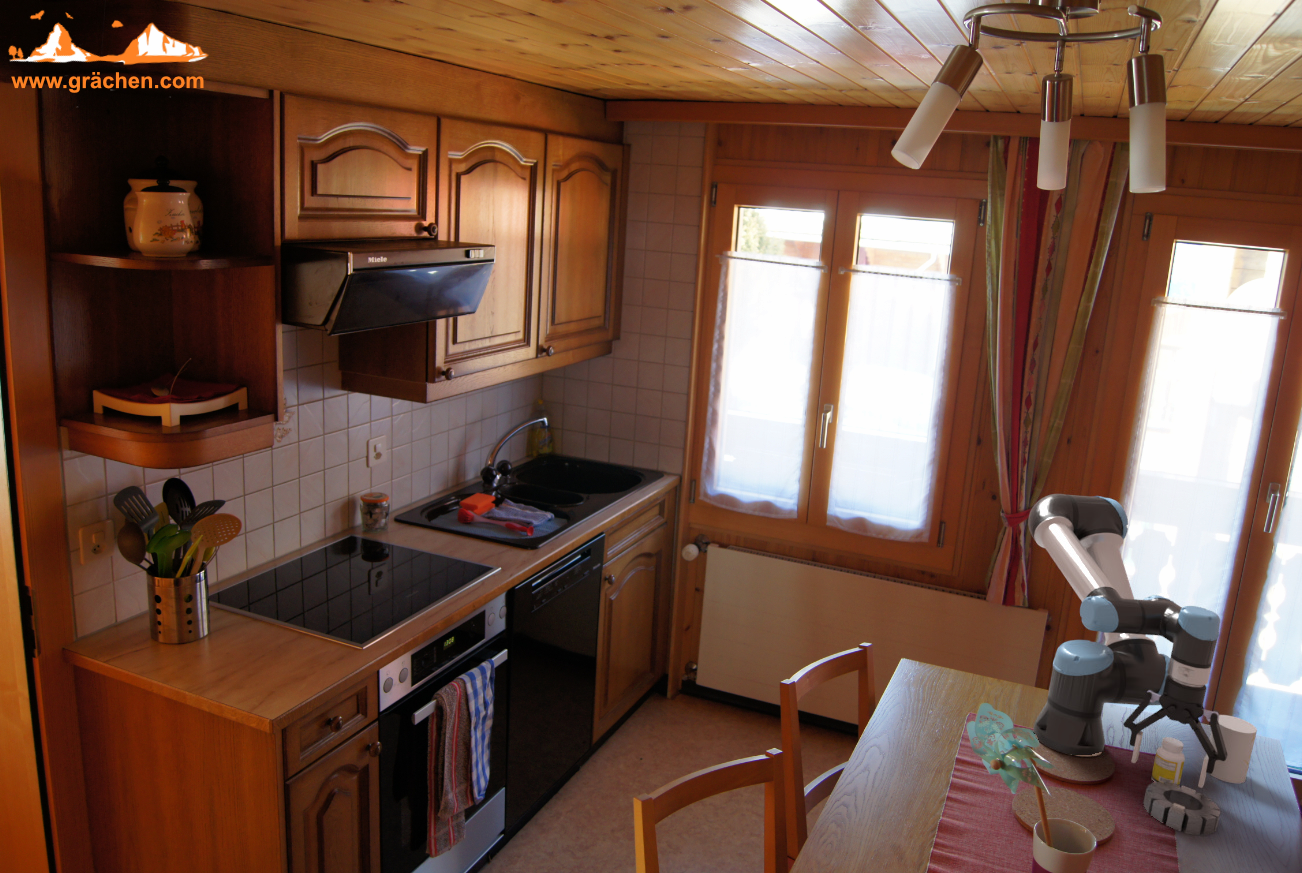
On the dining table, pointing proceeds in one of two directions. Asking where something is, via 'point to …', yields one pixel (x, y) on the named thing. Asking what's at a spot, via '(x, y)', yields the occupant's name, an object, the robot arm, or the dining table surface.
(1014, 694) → the dining table surface
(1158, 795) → the grey segmented ring
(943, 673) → the dining table surface
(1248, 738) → the white cylinder
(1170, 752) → the supplement bottle
